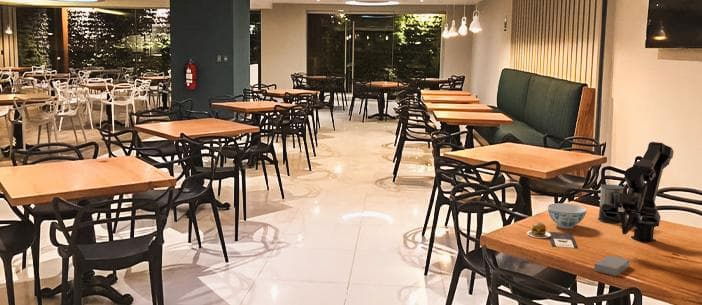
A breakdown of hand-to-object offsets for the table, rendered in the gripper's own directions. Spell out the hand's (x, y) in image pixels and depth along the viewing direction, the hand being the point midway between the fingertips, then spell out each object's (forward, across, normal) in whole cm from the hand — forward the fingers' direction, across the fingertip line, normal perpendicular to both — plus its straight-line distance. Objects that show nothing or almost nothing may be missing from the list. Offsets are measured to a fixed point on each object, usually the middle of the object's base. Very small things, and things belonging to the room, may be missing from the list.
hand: (623, 233), depth 221 cm
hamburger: (+3, -34, +7) cm, 35 cm away
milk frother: (-25, -20, +40) cm, 51 cm away
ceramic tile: (+11, +1, 0) cm, 11 cm away
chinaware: (-10, -32, +21) cm, 40 cm away
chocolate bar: (+3, -25, +8) cm, 26 cm away
